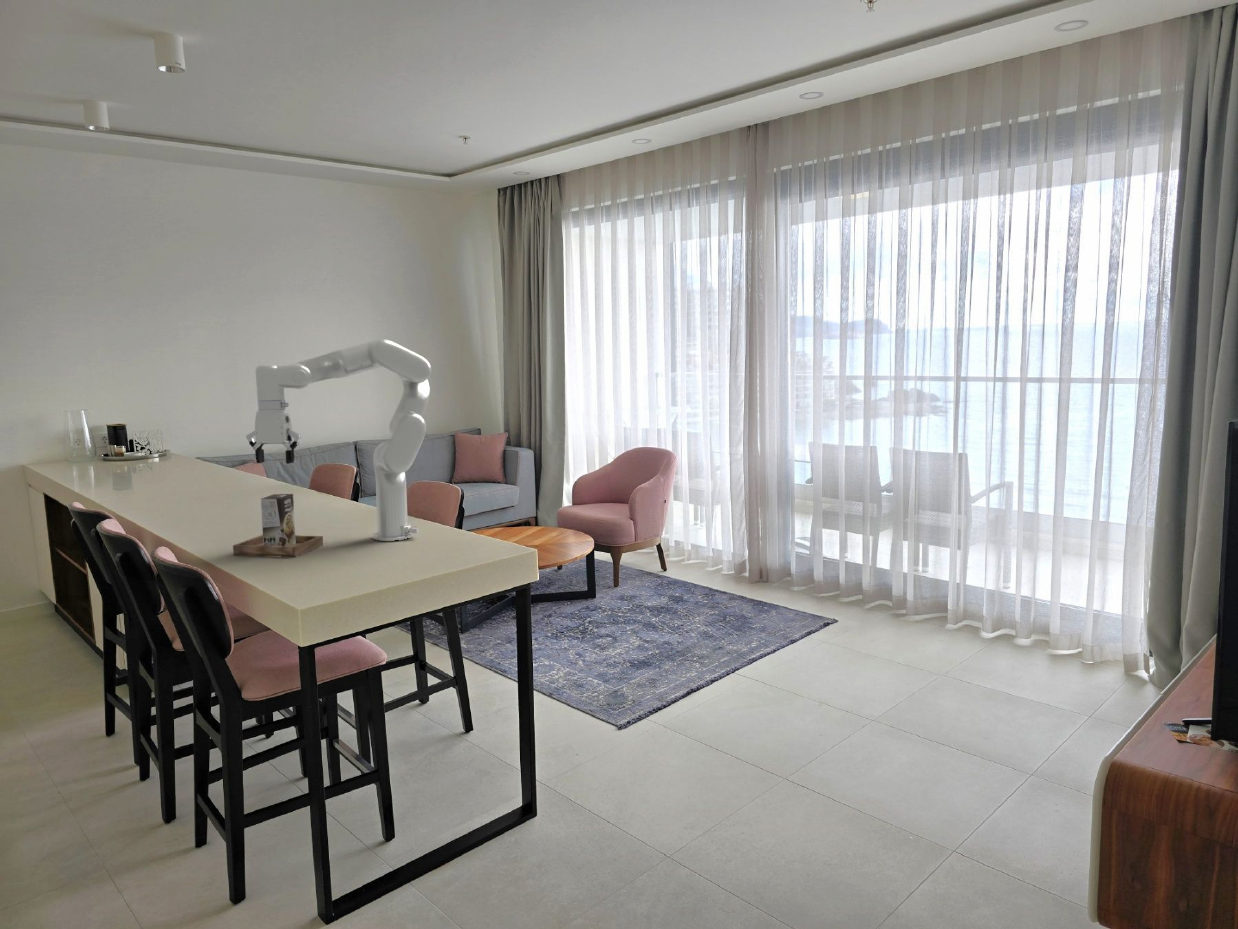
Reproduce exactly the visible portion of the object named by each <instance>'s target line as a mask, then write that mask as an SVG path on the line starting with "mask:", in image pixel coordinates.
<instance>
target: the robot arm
mask: <svg viewBox="0 0 1238 929" xmlns="http://www.w3.org/2000/svg"><path fill="white" fill-rule="evenodd" d="M381 367H383V368H385V369H387V370H389V371H390V372H393V373H395V374H396V375H398V376H399V379H400V380H401V382H402V385H403V391H402V395H401V398H400V400H399V402H398V405H397V407H396V409H395V411H394V413H393V415H392V417H391V420H390V422H389V425H388V426H389V428H388V429H389V432H390V434H391V435H392V436H391V437H390V439H389V441H383V442H381V443H380V444H378V445H377V446H376V447H375V449H374V451H373V455H372V456H373V457H372V461H373V463H372V464H373V468H374V475H375V495H376V499H375V500H376V516H377V517H376V519H377V520H376V522H377V523H376V524H377V532H376V533H374V534H373V535H372V539H373V540H376V541H378V540H379V541H380V542H396V541H395V540H399V541H404V539H405V540H408V539H407V538H409V539H411V538H413V536H414V534H419V532H420V527H419V526H412V525H411V522H409V521H408V498H407V497H408V496H407V494H408V493H407V479H406V478H407V477H406V472H407V471H408V470H409V469H410V468H411V466H412V465H413V463H414V461H415V460H416V457H417V455H418V453H419V450H420V449H421V446H422V444H423V441H424V439H425V436H426V434H427V433H426V432H427V424H426V420H425V419H424V418H423V416H424V414H425V412H426V408H427V406H428V403H429V401H430V396H431V388H430V382H429V378H430V377H431V374H432V365H431V364H430V362H429V360H427V359H426V358H425V357H423V356H422V355H419V354H418V353H416V352H414V351H411V349H408V348H406V347H405V346H401V345H400V344H398V343H396V342H395V341H392V340H390V339H386V338H384V339H383V338H381V339H375V340H372V341H366V342H363V343H360V344H355V345H353V346H348V347H345V348H341V349H337V350H334V351H331V352H327V353H326V354H322V355H319V356H316V357H311V358H308V359H304V360H300V361H296V362H294V363H290V364H287V365H278V364H261V365H258V366H257V367H255V381H256V382H255V384H256V395H257V396H256V397H257V411H256V412H255V421H254V430H253V431H252V432H250V433H249V434H246V435H245V437H246V440H247V441H248V444H249V445H250V446H251V447H252V449H253V450H254V452H255V453H254V454H255V455H254V456H255V460H256V461H255V462H256V464H263V463H265V461H266V460H265V450H264V448H263V447H264V446H265V445H283V446H284V448H285V449H286V450H285V463H286V464H290V465H291V464H293V463H294V462H295V449H296V448H297V446H298V445H300V444H299V443H300V441H301V438H302V435H301V434H299V433H297V432H295V431H294V430H293V424H292V420H291V417H290V416H291V415H290V412H289V410H286V408H288V407H289V403H288V402H286V400H285V397H286V396H285V389H293V390H301V389H305V388H307V387H308V386H309V385H310V384H313V383H317V382H321V381H326V380H330V379H341V378H347V377H350V376H354V375H357V374H361V373H363V372H368V371H371V370H375V369H378V368H381ZM254 438H255V439H254Z"/></svg>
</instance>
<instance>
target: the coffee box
mask: <svg viewBox="0 0 1238 929" xmlns="http://www.w3.org/2000/svg"><path fill="white" fill-rule="evenodd" d="M294 502H295V501H294V494H293V493H278V494H276V493H275V494H274V493H273V494H270V495H267V496H265V497H262V498H260V503H261V504H260V505H261V527H262V535H263V546H287V547H291V546H293V545H295V544H296V539H295V535H296V524H295V510H294V509H295V507H294V506H295V505H294Z"/></svg>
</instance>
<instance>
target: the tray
mask: <svg viewBox="0 0 1238 929" xmlns="http://www.w3.org/2000/svg"><path fill="white" fill-rule="evenodd" d="M295 539H296V544H295V545H293V546H291V547H287V546H263V534H261V535H258V536H255V537H253V538H249V539H247V540H244V541H241V542H239V543H235V544H234V545H232V551H233V553H232V554H233V556H239V555H246V556H245V557H267V556H281V557H280V558H298V557H300V556H303V555H304V553H305V554H307V553H309V552H312V551H314V550H316V549H318V547H319V548H320V547H323V546H324V538H323V535H302V534H301V535H299V534H295ZM313 549H314V550H313ZM302 554H303V555H302ZM297 556H298V557H297Z"/></svg>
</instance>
